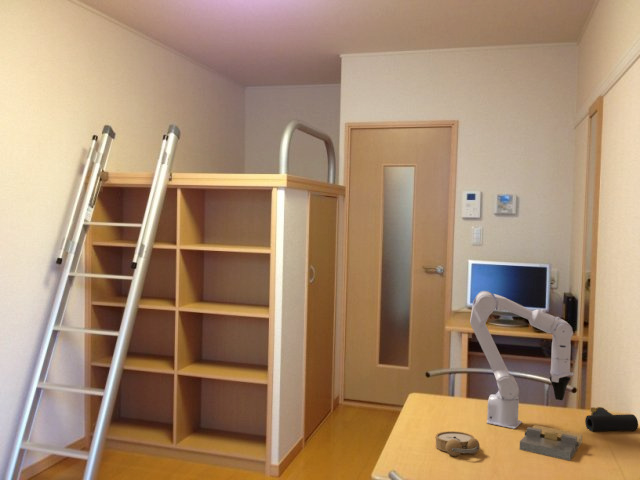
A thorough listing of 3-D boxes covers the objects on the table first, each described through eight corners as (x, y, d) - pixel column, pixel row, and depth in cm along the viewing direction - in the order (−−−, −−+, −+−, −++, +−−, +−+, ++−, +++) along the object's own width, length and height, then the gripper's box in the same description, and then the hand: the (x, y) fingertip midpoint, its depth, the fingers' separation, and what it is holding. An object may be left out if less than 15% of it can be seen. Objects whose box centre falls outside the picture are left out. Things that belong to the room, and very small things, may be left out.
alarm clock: (463, 430, 188) (487, 438, 174) (464, 446, 187) (488, 457, 173) (429, 432, 185) (450, 441, 171) (429, 449, 185) (451, 460, 170)
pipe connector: (575, 405, 206) (617, 405, 208) (574, 421, 207) (616, 420, 208) (594, 418, 195) (638, 417, 197) (593, 434, 195) (637, 433, 197)
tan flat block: (526, 441, 186) (526, 428, 186) (534, 433, 194) (534, 420, 193) (575, 452, 179) (575, 438, 178) (581, 443, 186) (582, 429, 186)
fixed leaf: (517, 448, 181) (517, 434, 181) (526, 439, 188) (526, 426, 188) (572, 461, 172) (572, 446, 172) (578, 451, 180) (579, 437, 179)
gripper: (568, 364, 190) (567, 407, 190) (578, 355, 202) (577, 396, 202) (545, 360, 194) (543, 403, 194) (556, 352, 206) (554, 392, 206)
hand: (559, 399), depth 199 cm, fingers closed
